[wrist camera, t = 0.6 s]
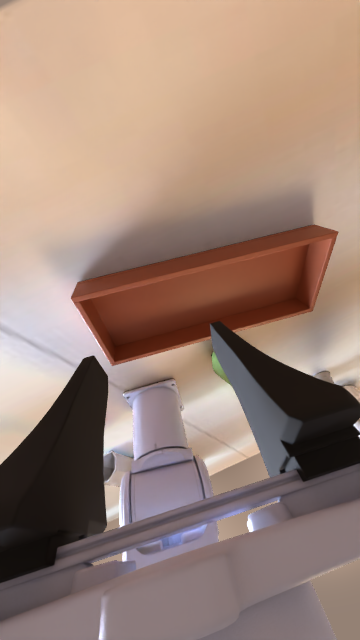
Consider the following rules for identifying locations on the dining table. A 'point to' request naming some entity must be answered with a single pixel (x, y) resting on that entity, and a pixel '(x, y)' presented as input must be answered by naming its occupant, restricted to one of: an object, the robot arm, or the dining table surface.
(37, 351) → the dining table surface
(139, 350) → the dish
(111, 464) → the tube
